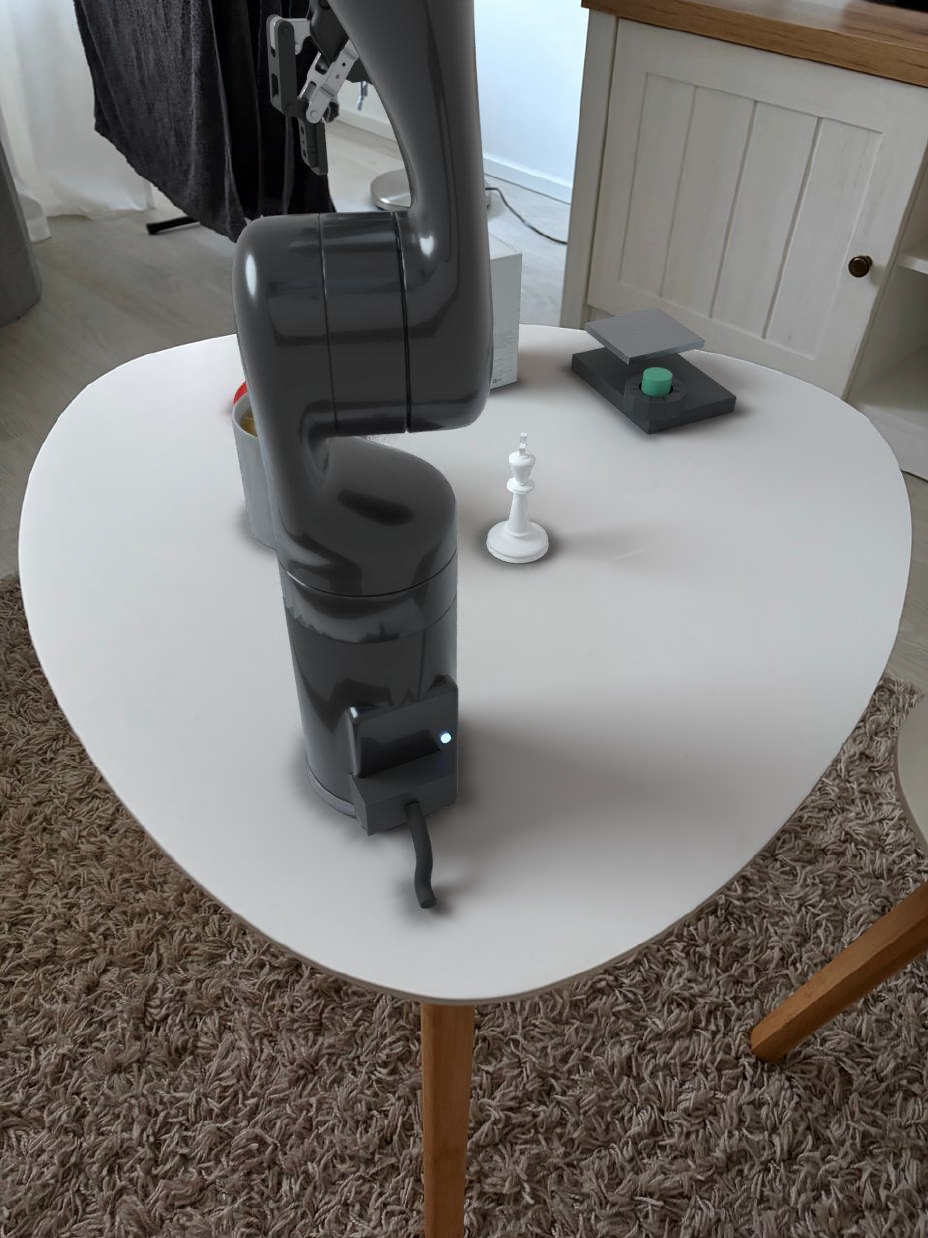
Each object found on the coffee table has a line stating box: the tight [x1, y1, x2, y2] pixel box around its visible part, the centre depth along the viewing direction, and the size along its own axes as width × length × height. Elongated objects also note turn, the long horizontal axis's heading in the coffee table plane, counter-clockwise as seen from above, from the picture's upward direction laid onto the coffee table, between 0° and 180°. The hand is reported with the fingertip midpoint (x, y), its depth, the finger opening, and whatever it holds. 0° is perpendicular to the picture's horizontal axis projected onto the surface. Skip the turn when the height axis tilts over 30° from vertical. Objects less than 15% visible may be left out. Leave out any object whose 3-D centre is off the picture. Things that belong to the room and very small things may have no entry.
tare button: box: [641, 367, 672, 396], centre depth 90 cm, size 3×3×2 cm
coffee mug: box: [231, 392, 368, 551], centre depth 79 cm, size 13×10×10 cm
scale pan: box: [583, 307, 706, 365], centre depth 96 cm, size 8×9×1 cm
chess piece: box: [486, 432, 550, 564], centre depth 75 cm, size 5×5×10 cm
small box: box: [488, 231, 523, 390], centre depth 95 cm, size 8×6×13 cm
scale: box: [570, 346, 738, 435], centre depth 95 cm, size 15×11×4 cm
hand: (371, 164), depth 77 cm, fingers open, 8 cm apart
